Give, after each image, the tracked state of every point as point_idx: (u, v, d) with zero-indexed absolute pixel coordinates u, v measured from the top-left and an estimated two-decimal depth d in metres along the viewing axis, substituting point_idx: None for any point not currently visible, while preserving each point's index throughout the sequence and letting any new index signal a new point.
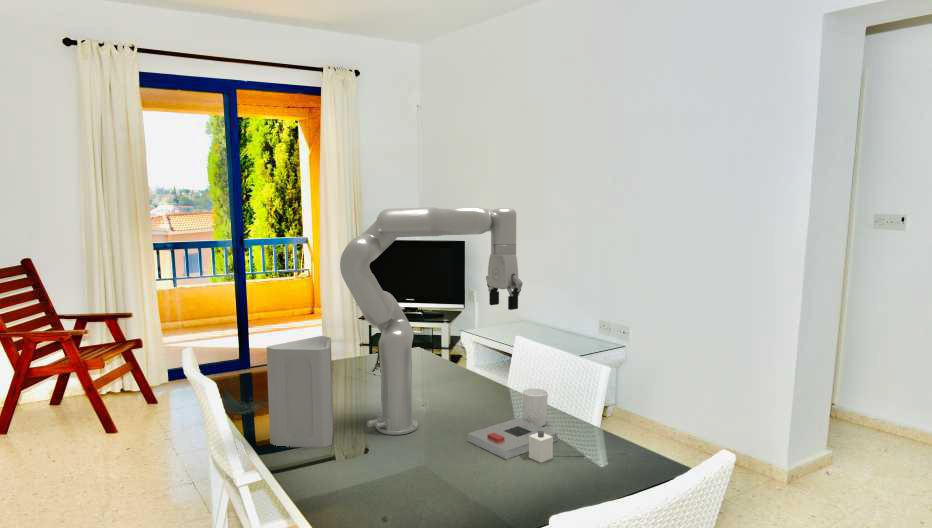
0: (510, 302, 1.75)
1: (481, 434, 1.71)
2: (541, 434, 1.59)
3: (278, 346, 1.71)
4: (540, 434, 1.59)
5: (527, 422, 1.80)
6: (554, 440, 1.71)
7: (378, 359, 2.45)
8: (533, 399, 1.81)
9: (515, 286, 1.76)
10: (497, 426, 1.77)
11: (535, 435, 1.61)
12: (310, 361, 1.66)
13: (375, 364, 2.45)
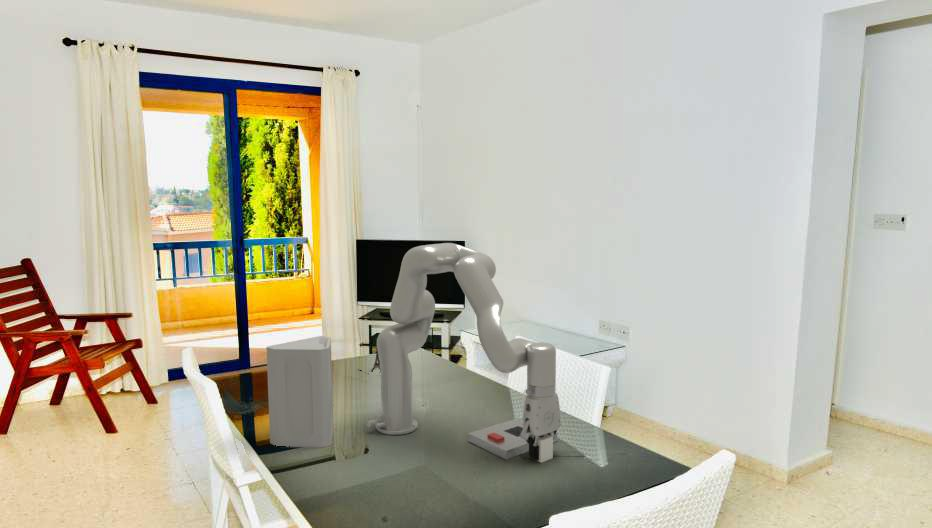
0: None
1: (481, 434, 1.71)
2: None
3: (278, 346, 1.71)
4: None
5: None
6: (554, 440, 1.71)
7: (377, 359, 2.45)
8: None
9: None
10: (497, 426, 1.77)
11: None
12: (310, 361, 1.66)
13: (374, 364, 2.44)
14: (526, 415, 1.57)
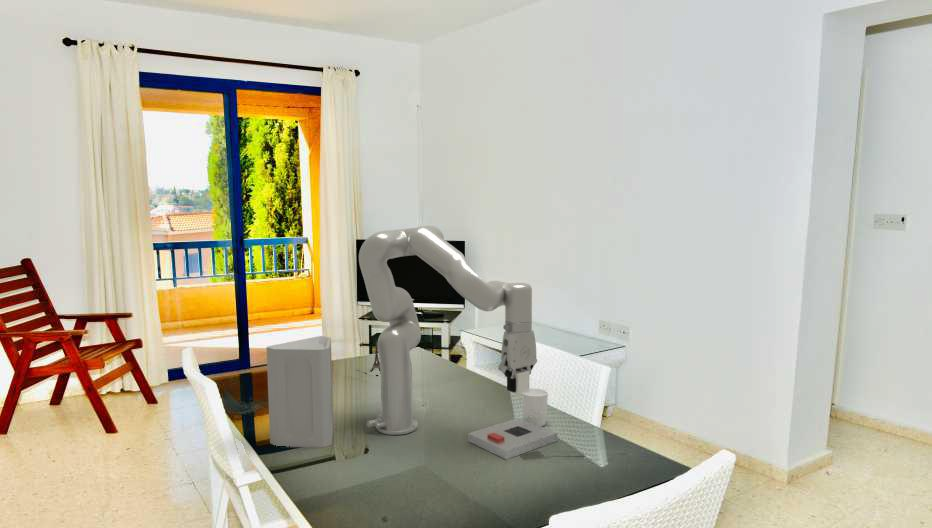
0: None
1: (481, 434, 1.71)
2: (518, 368, 1.70)
3: (278, 346, 1.71)
4: None
5: (527, 422, 1.80)
6: (554, 440, 1.71)
7: (376, 359, 2.44)
8: (533, 399, 1.81)
9: None
10: (497, 426, 1.77)
11: None
12: (310, 361, 1.66)
13: (373, 364, 2.44)
14: (504, 350, 1.68)
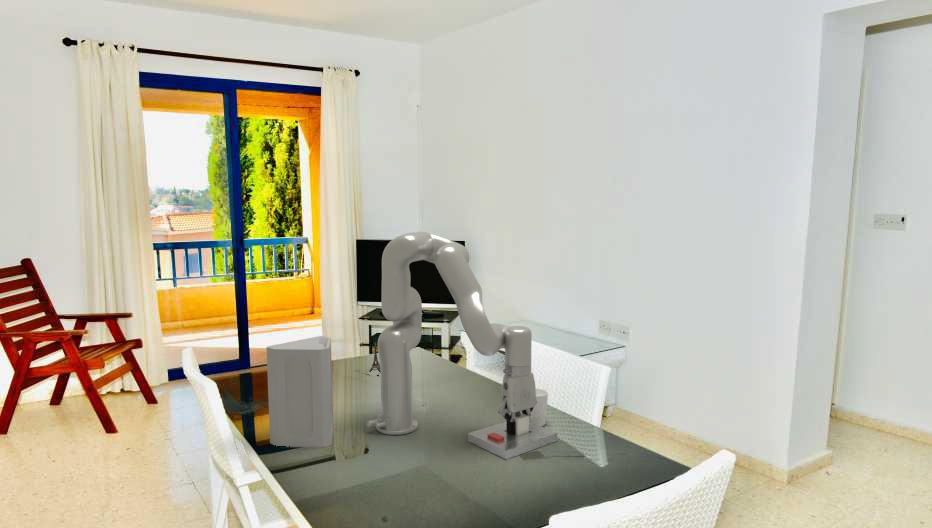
0: None
1: (481, 434, 1.71)
2: (518, 413, 1.72)
3: (278, 346, 1.71)
4: (517, 413, 1.72)
5: None
6: (554, 440, 1.71)
7: (375, 360, 2.44)
8: None
9: None
10: (497, 426, 1.77)
11: None
12: (310, 361, 1.66)
13: (372, 365, 2.44)
14: (504, 393, 1.69)
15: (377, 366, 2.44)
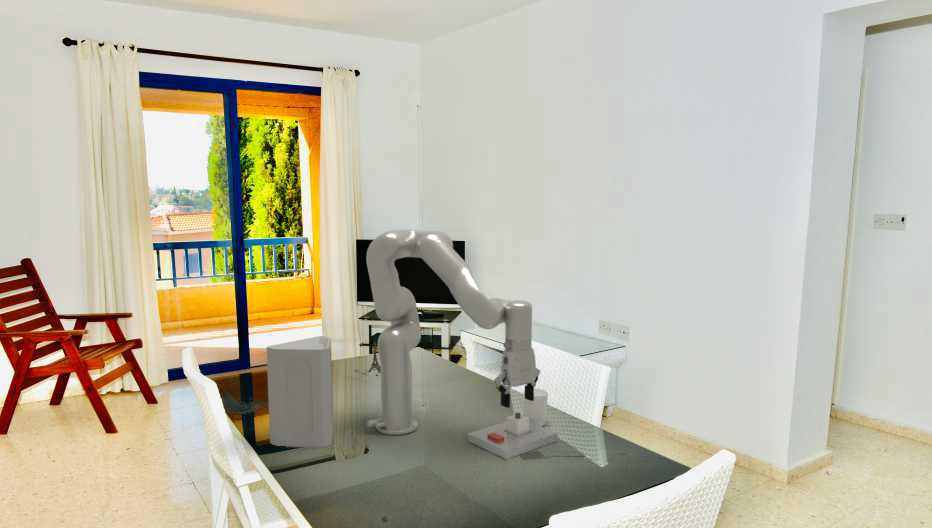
0: None
1: (481, 434, 1.71)
2: (518, 415, 1.72)
3: (278, 346, 1.71)
4: (517, 415, 1.72)
5: None
6: (554, 440, 1.71)
7: (374, 360, 2.44)
8: None
9: None
10: (497, 426, 1.77)
11: (512, 416, 1.73)
12: (310, 361, 1.66)
13: (371, 365, 2.44)
14: (504, 367, 1.68)
15: (377, 366, 2.43)
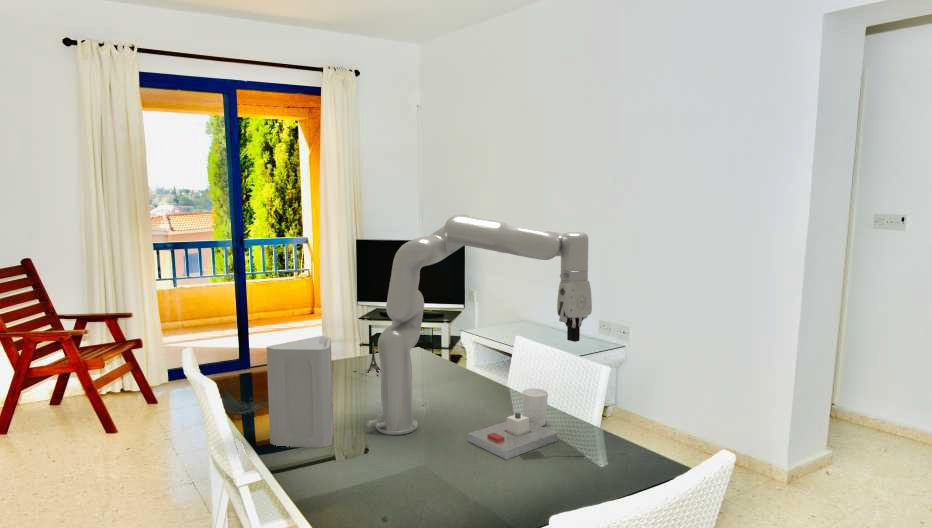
0: None
1: (481, 434, 1.71)
2: (518, 415, 1.72)
3: (278, 346, 1.71)
4: (517, 415, 1.72)
5: None
6: (554, 440, 1.71)
7: (373, 360, 2.43)
8: (533, 399, 1.81)
9: None
10: (497, 426, 1.77)
11: (512, 416, 1.73)
12: (310, 361, 1.66)
13: (370, 365, 2.43)
14: (560, 299, 1.66)
15: (375, 366, 2.43)
